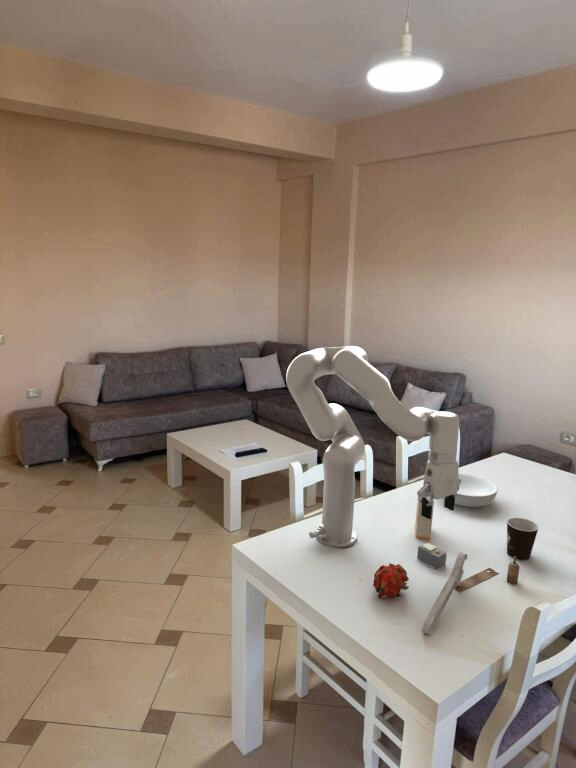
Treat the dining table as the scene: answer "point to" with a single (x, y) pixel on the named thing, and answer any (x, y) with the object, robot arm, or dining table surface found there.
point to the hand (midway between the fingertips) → (437, 512)
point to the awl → (513, 572)
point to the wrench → (445, 594)
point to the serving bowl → (475, 491)
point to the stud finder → (431, 555)
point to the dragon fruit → (390, 580)
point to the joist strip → (475, 579)
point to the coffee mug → (520, 537)
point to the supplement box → (423, 522)
